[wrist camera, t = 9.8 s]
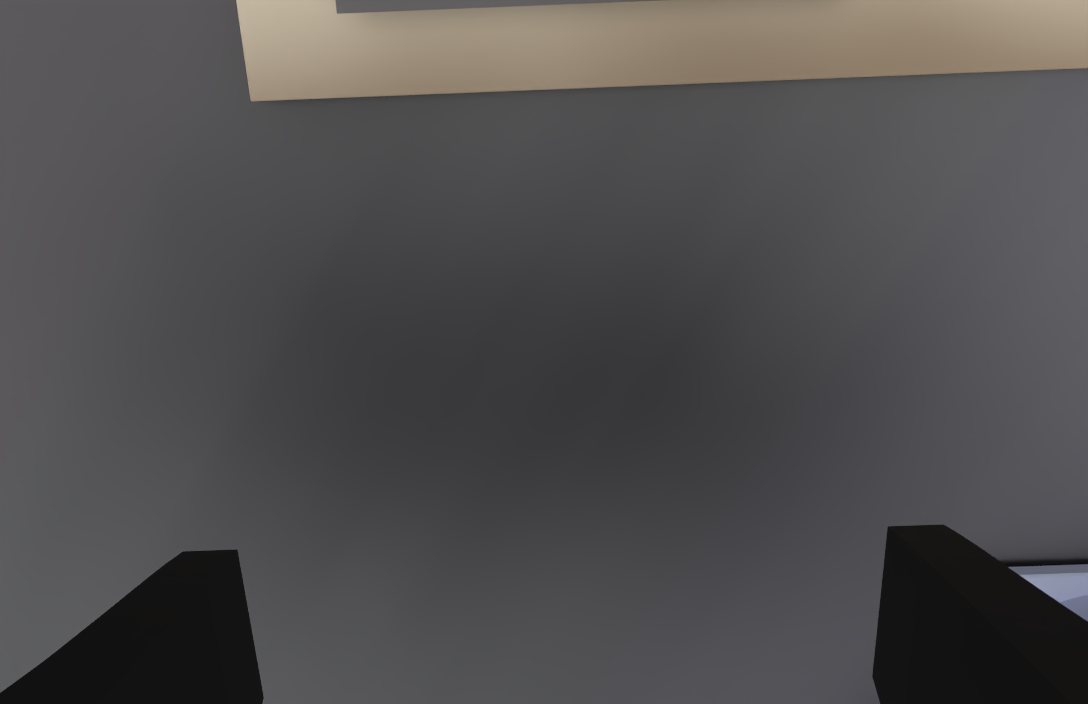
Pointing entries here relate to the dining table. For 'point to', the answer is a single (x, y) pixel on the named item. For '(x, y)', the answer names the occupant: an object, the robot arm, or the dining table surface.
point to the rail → (637, 42)
